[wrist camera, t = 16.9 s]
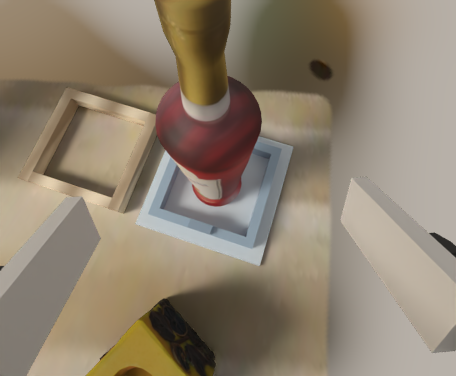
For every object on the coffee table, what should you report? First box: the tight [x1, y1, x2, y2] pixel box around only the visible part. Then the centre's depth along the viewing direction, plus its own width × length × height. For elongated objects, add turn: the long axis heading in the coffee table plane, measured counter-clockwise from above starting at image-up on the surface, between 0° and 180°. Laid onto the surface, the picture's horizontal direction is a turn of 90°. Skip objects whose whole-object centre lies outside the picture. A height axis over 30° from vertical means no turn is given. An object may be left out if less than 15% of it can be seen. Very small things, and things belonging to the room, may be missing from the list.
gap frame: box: [18, 87, 157, 213], centre depth 36 cm, size 15×15×2 cm
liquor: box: [154, 0, 262, 207], centre depth 22 cm, size 7×7×28 cm
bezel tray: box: [135, 136, 293, 266], centre depth 34 cm, size 18×18×3 cm
